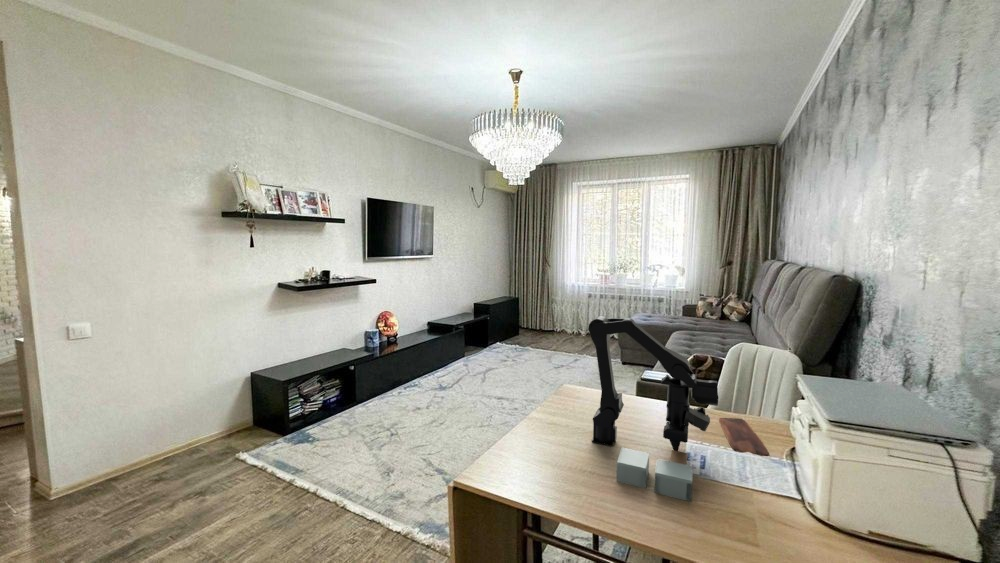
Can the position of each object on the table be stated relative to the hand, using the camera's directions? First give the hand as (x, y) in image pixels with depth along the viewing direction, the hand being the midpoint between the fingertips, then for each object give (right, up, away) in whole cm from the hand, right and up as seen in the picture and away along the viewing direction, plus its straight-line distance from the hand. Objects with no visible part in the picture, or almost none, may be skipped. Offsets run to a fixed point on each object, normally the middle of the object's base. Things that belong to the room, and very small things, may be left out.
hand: (675, 450), depth 118 cm
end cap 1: (-16, -2, -11) cm, 20 cm away
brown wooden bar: (-4, -3, -11) cm, 12 cm away
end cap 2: (-8, -3, -17) cm, 19 cm away
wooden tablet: (+27, -1, +13) cm, 30 cm away
